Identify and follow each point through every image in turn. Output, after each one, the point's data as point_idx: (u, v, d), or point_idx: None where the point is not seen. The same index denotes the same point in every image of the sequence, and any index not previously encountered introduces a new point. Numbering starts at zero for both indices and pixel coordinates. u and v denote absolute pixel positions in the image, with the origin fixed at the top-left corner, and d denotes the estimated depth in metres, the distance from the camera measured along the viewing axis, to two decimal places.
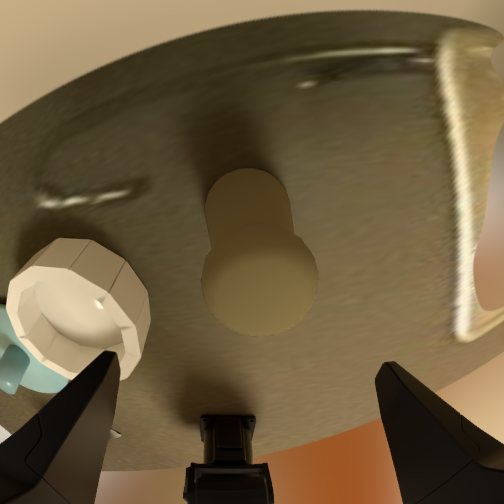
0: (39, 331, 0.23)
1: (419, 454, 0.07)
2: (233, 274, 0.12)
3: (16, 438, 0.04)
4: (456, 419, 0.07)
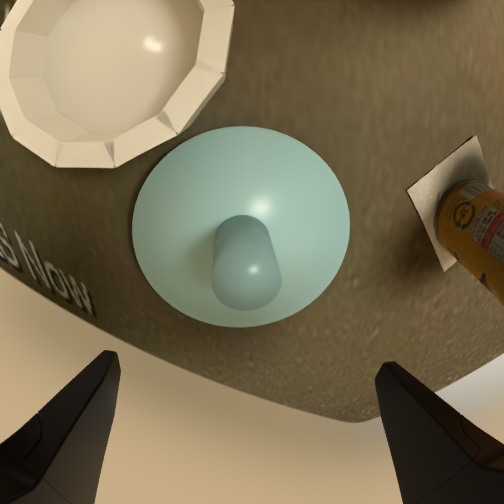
0: None
1: (419, 454, 0.07)
2: None
3: (16, 438, 0.04)
4: (456, 419, 0.07)
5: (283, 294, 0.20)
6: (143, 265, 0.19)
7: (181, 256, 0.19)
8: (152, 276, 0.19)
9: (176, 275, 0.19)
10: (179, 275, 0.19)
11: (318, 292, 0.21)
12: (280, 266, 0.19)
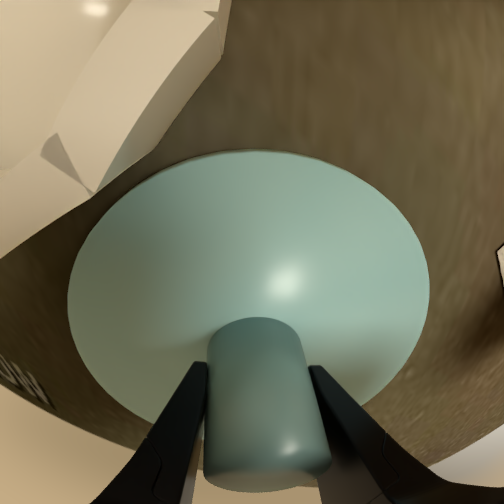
0: None
1: (336, 472, 0.07)
2: None
3: (131, 470, 0.05)
4: (377, 438, 0.06)
5: None
6: (99, 377, 0.11)
7: (153, 371, 0.11)
8: (114, 390, 0.11)
9: (149, 391, 0.11)
10: (154, 392, 0.11)
11: (363, 401, 0.12)
12: None
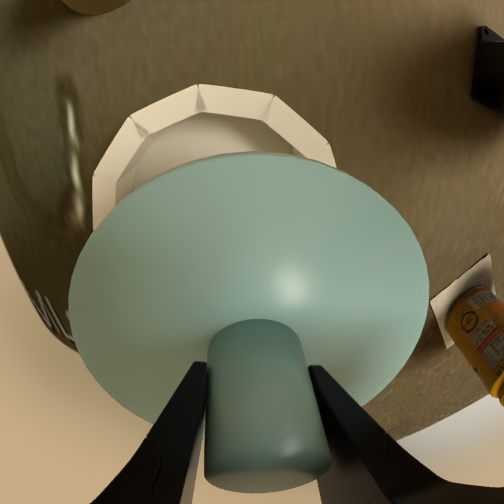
0: None
1: (336, 472, 0.07)
2: None
3: (131, 470, 0.05)
4: (377, 438, 0.06)
5: None
6: (99, 378, 0.11)
7: (154, 372, 0.11)
8: (115, 391, 0.11)
9: (150, 393, 0.11)
10: (155, 393, 0.11)
11: (363, 402, 0.13)
12: None
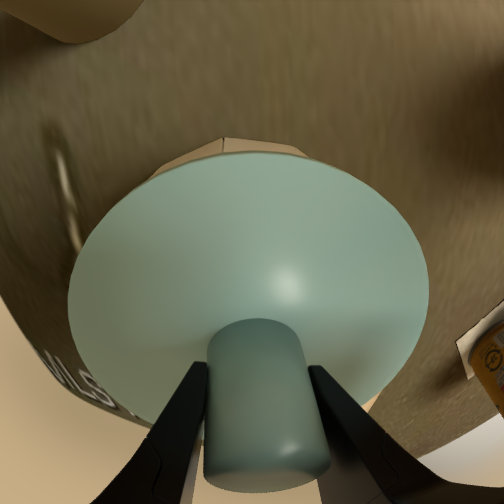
0: None
1: (336, 472, 0.07)
2: None
3: (131, 470, 0.05)
4: (377, 438, 0.06)
5: None
6: (99, 378, 0.11)
7: (153, 372, 0.11)
8: (115, 391, 0.11)
9: (149, 392, 0.11)
10: (155, 393, 0.11)
11: (363, 402, 0.13)
12: None
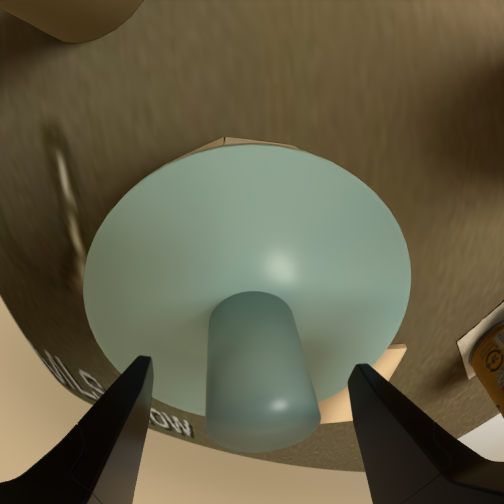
0: None
1: (389, 462, 0.07)
2: None
3: (57, 452, 0.05)
4: (428, 427, 0.07)
5: None
6: (108, 352, 0.12)
7: (159, 344, 0.12)
8: (122, 365, 0.12)
9: (155, 366, 0.12)
10: (160, 366, 0.12)
11: None
12: (306, 355, 0.13)
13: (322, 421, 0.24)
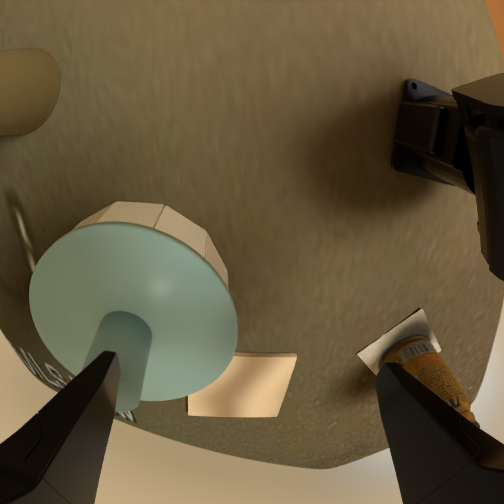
0: None
1: (419, 454, 0.07)
2: None
3: (16, 438, 0.04)
4: (456, 419, 0.07)
5: (178, 377, 0.19)
6: (49, 346, 0.17)
7: (76, 342, 0.17)
8: (58, 355, 0.17)
9: (76, 356, 0.17)
10: (79, 356, 0.17)
11: (214, 377, 0.19)
12: (168, 355, 0.18)
13: (237, 415, 0.29)
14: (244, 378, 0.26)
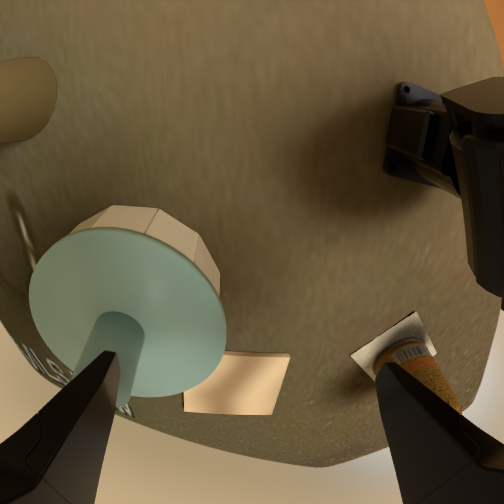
0: None
1: (419, 454, 0.07)
2: None
3: (16, 438, 0.04)
4: (456, 419, 0.07)
5: (170, 375, 0.20)
6: (48, 343, 0.18)
7: (73, 340, 0.18)
8: (57, 352, 0.18)
9: (74, 353, 0.18)
10: (77, 353, 0.18)
11: (205, 375, 0.20)
12: (160, 354, 0.19)
13: (232, 412, 0.29)
14: (238, 376, 0.27)
